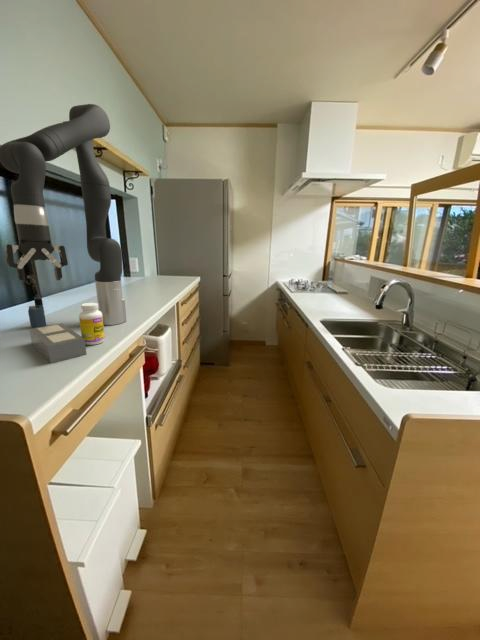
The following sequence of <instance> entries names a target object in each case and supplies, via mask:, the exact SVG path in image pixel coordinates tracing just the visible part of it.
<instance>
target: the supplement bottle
mask: <svg viewBox="0 0 480 640" xmlns="http://www.w3.org/2000/svg"><path fill="white" fill-rule="evenodd" d="M81 310H82V311H81V312H79V314H78V318H79V319H78V320H79V325H80V333H81V335H80V336H82V337H83V338H85V346H86V345H87V346H96V345H99V344H102V343H104V342H105V340H106V339H105V337H106V336H105V329H104V328H105V325H103V316H102V313H101V312H100V311H99V310H98V302H87V303H82V304H81Z"/></svg>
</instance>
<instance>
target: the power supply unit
mask: <svg viewBox="0 0 480 640" xmlns="http://www.w3.org/2000/svg"><path fill="white" fill-rule="evenodd" d="M28 330H29V334H30V338H31V339H30V341H31V345H33V347H34V348H35V349H36V350H37V351H38V352H39V353H40V354H41V355H42V356H43V357H44V358H45V359H46V360H47V361H48V362H49V363H50V364H55V363H58V362H62V361H66V360H70V359H74V358H78V357H82V356H85V355H87V353H88V352H87V346H86V344H85V338H83V337H82V336H81V335H80V334H79V333H77V332H76V331H75V330H73V329H71V328H69V327H68V326H66V325H65V324H64V323H57V324H50V325H45V326H42V327H38V328H32V327H31V328H29V329H28Z"/></svg>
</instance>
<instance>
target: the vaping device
mask: <svg viewBox="0 0 480 640" xmlns="http://www.w3.org/2000/svg"><path fill="white" fill-rule="evenodd" d="M33 300H34V305H30V306H28V311H27V313H28V318H29V324H30V327H31V329H32V328H38V327H44V326H47V321H46V320H47V319H46V314H45V309H44V308H45V307H44V303H43V298H42V296H40V294H35V296H33Z"/></svg>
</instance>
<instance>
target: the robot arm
mask: <svg viewBox="0 0 480 640" xmlns="http://www.w3.org/2000/svg"><path fill="white" fill-rule="evenodd" d="M68 118H69V119H68V120H66V121H63V122H59V123H56V124H51V125H48V126H45V127H43V128H41V129H39V130H37V131H35V132H33V133H31V134H30V135H27V136H23V137H19V138H17V139H13V140H10V141H7V142H5V143H3V144H1V145H0V164H1V165H2V166H3V167H4V168H5V169H6V170H8V171H10V172H11V173H15V174H18V179H17V180H16V181H14V182H12V183H11V185H10V191H11V198H12V202H13V204H12V205H13V215H14V222H15V228H16V232H17V237H18V244H8V243H6V244H5V245H4V249H5V250H4V251H5V258H6V264H7V266H8V267H11V268H14V269H15V270H16V274H17V278H18V280H19V281H21V283H26V282H27V278H26V273H25V269H24V266H25V265H27V263H28V262H29V261H46V260H48V261H49V262H50V263H51V264H52V265H53V266H54V268H53V269H54V275H55V280H56V281H61V279H63V271H62V268H63V267H65V266H68V265H69V263H68V258H67V252H66V247H65V246H64V245H53V243H52V237H51V230H50V224H49V218H48V213H47V210H46V204H45V197H44V188H45V187H44V186H45V183H46V182H45V180H46V171H47V165H46V162H51V161H54V160H56V159H57V158H59V157H61V156H62V155H64V154H66V153H68V152H69V151H71V150H73V149H75V152H76V157H77V163H78V171H79V176H80V177H79V178H80V187H81V193H82V195H81V196H82V201H83V205H84V206H83V208H84V217H85V222H86V223H85V225H86V226H85V227H86V248H87V250H86V251H87V253H88V256H89V257H90V258H91V260H93V261H95V262H96V263H99V265H100V267H99V270H98V271H96V272H95V273H94V280H95V281H94V282H95V290H96V299H97V304H98V311H100V312H101V313H102V316H103V326H116V325H121V324H122V323H125V322H127V312H126V309H127V308H126V299H125V298H123V289H122V288H123V287H122V274H123V251H122V248H121V245H120V244H119V242H118V241H117V240H116V239H114V238H110V237H107V232H106V223H107V218H108V214H109V212H110V208H111V204H112V203H111V202H112V196H111V186H110V181H109V178H108V177H107V175H106V173H105V171H104V170H103V168H102V166H101V165H100V163H99V162H98V159H97V158H96V155H95V149H94V143H93V142H94V139H102V138H105V137H106V136H108V134H109V133H110V130H111V123H110V119H109V116H108V115H107V113H106V111H105V110H104V108H102V107H101V106H99V105H97V104H93V103H88V104H86V103H85V104H78V105H74V106H71V108H70V110H69V113H68ZM17 250H19V252H20V253H21V254H22V255H21V257H20V258H19V260H18V261H17V262H15V258H14V254H15V253H16V252H17ZM54 251H56V253H58V254H59V255H58V256H59V260H60V261H58V260H57V259H56V257H54V256H53V255H52V254H53V252H54Z"/></svg>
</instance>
